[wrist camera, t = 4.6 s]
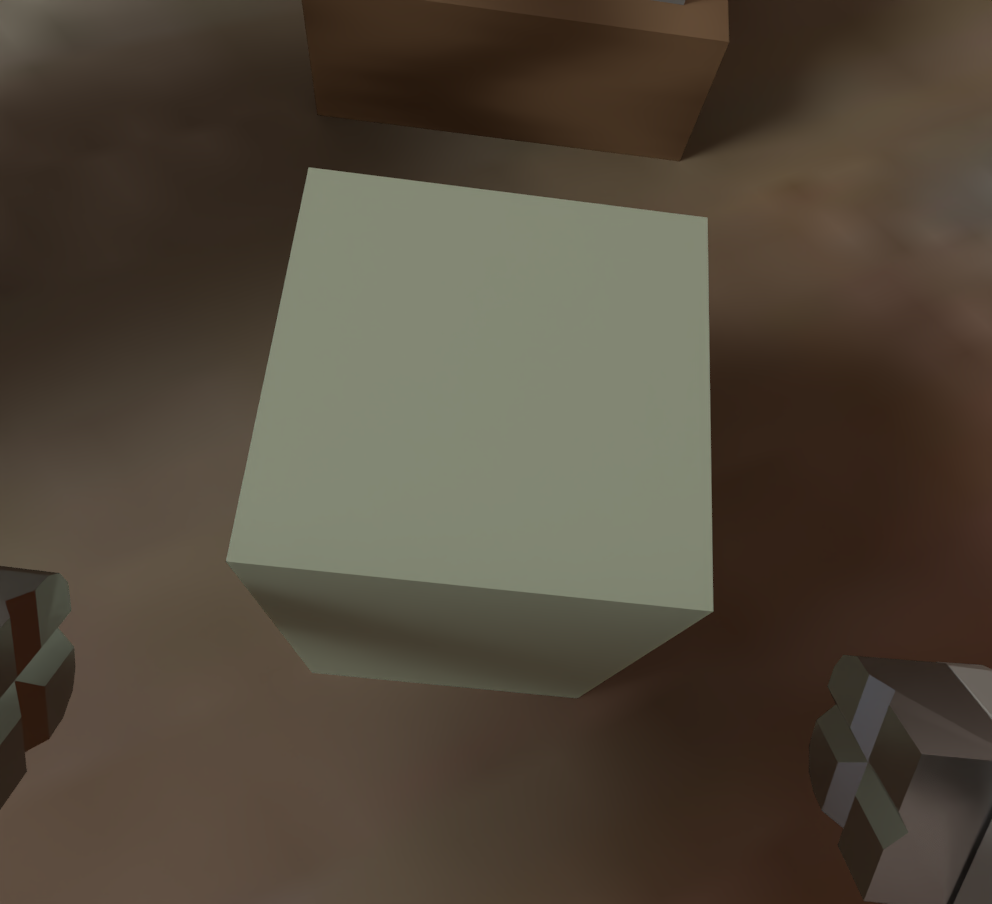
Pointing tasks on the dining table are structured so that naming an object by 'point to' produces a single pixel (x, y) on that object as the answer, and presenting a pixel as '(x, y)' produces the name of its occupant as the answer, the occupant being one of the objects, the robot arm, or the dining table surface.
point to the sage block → (482, 437)
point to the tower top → (673, 1)
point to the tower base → (522, 68)
